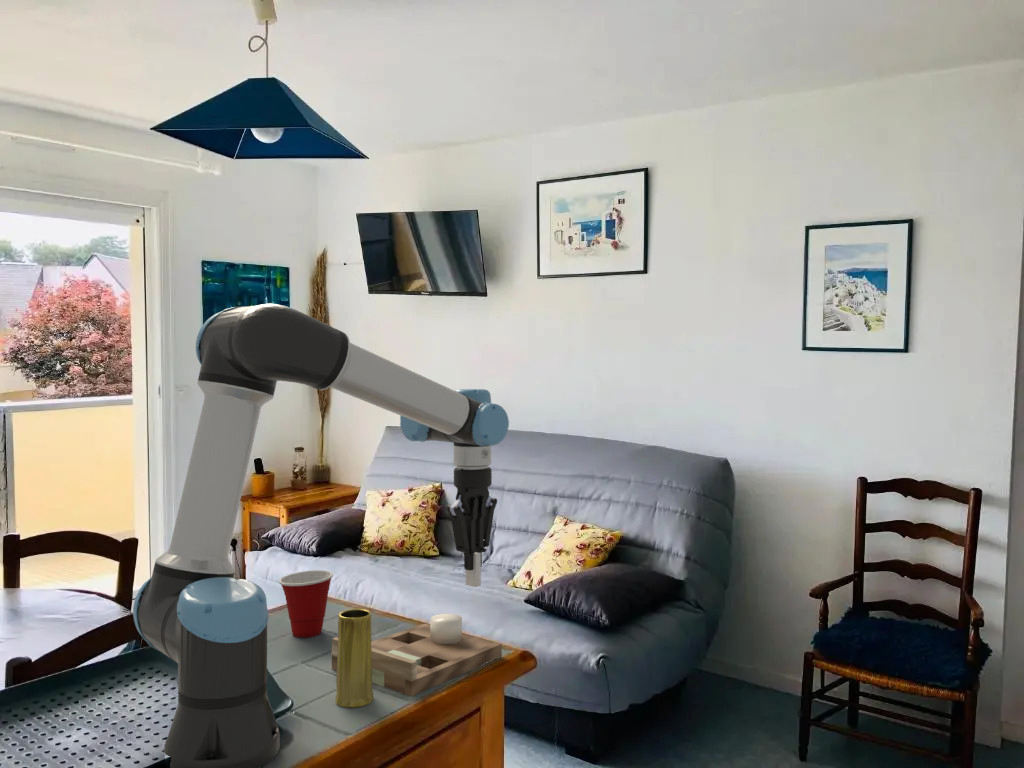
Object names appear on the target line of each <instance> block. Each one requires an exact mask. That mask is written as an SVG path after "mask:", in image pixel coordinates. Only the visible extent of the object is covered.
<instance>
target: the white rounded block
mask: <svg viewBox="0 0 1024 768" xmlns="http://www.w3.org/2000/svg"><path fill="white" fill-rule="evenodd" d="M429 623H430V624H429V625H430V640H431V641H432V642H434V643H437V644H454V643H458V642H460V641H461V640H462V634H463V618H462V616H461V615H458V614H456V613H455V614H454V613H440V614H439V613H438V614H436V615H432V616H431V617H430V622H429Z"/></svg>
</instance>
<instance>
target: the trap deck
mask: <svg viewBox="0 0 1024 768" xmlns="http://www.w3.org/2000/svg"><path fill="white" fill-rule="evenodd" d="M502 646H503V644H502V643H501V642H496V641H492V640H490V639H489V640H488V639H485V638H480V637H477V636H473V635H470V634H465V633H462V640H461V641H460V642H458V643H454V644H437V643H434V642H432V641H431V640H430V624H429V623H428V624H427V623H422V624H419V625H416V626H413V627H410V628H407V629H405V630H401V631H398V632H395V633H393V634H390V635H388V636H384V637H380V638H378V639H376V640H371V649H372V684H374V685H375V686H376V685H377V686H379V687H383V688H386V689H389V690H392V691H395V692H397V693H400V694H403V695H406V696H409V697H414V696H416V695H418V694H420V693H423V692H426V691H428V690H429V689H432V688H434V687H436V686H439V685H441V684H444V683H447V682H448V681H450V680H452V679H456V678H457V677H460V676H462V675H463V673H464V674H466V673H468V671H469V672H470V670H471V671H473V670H475V668H476V669H478V668H480V667H481V665H482V666H484V665H483V664H484V663H486V662H489V661H491V660H493V659H496V658H498V657H501V656H503V655H502V652H503V649H502V648H503V647H502ZM337 656H338V636H337V637H333V638H331V670H333V671H336V672H337ZM501 658H502V657H501ZM498 659H499V658H498ZM496 660H497V659H496ZM489 663H490V662H489ZM479 666H480V667H479ZM477 667H478V668H477Z"/></svg>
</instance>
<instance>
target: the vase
mask: <svg viewBox="0 0 1024 768" xmlns="http://www.w3.org/2000/svg"><path fill="white" fill-rule="evenodd" d="M337 619H338V621H337V628H338V629H337V630H338V631H337V633H338V635H337V637H338V656H337V671H336V680H335V681H336V686H335V688H336V696H335V699H334V701H335V703H336V705H337V706H339V707H342V708H347V709H356V708H362V707H365V706H368V705H370V704H371V703H372V702H373V701H374V698H375V697H374V691H373V683H372V649H371V642H372V612H371V610H368V609H365V608H351V609H346V610H343V611H341V612H339V613H338V618H337Z"/></svg>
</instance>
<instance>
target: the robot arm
mask: <svg viewBox="0 0 1024 768" xmlns="http://www.w3.org/2000/svg"><path fill="white" fill-rule="evenodd" d="M350 341H351V340H350V338H349V336H348V335H347V333H345V332H343V331H342V330H340V329H337V328H335V327H333V326H331V325H329V324H327V323H324V322H323V321H321V320H319V319H317V318H314V317H313V316H310V315H308V314H305V313H304V312H301V311H299V310H297V309H294V308H292V307H288V306H286V305H281V304H277V303H265V304H264V303H263V304H258V305H251V306H250V305H248V306H234V307H230V308H225V309H223V310H222V311H219V312H217V313H215V314H213V315H212V316H210V317H209V318H208V319H207V320H206V321H205V322H204V323H203V325H202V326H201V328H200V329H199V331H198V333H197V336H196V342H195V353H196V358H197V360H198V362H199V364H200V369H199V374H198V378H197V385H198V387H199V388H200V390H201V391H202V393H203V394H204V395H203V396H204V399H203V404H202V408H201V412H200V416H199V420H198V425H197V427H196V428H197V429H196V432H195V437H194V442H193V447H192V451H191V454H190V459H189V464H188V467H187V472H186V476H185V480H184V485H183V489H182V493H181V497H180V502H179V507H178V510H177V514H176V518H175V523H174V528H173V532H172V537H171V539H170V540H171V541H170V545H169V548H168V549H167V551H166V552H164V553H162V554H161V555H160V556H158V557H157V558H156V559H155V561H154V566H153V570H152V573H151V577H150V578H148V579H147V580H146V581H145V582H143V584H142V585H141V587H140V588H139V590H138V591H137V594H136V597H135V598H134V602H133V607H132V608H133V609H132V616H133V622H134V625H135V628H136V630H137V632H138V633H139V635H140V636H141V637H142V639H143V640H144V641H145V642H146V643H147V645H148V646H150V647H151V648H153V650H155V651H156V652H157V651H158V652H161V653H162V654H163V655H165V656H167V657H168V658H170V659H171V660H173V661H174V662H175V663H177V672H178V673H177V689H178V690H177V691H178V692H177V693H178V694H177V696H178V698H177V699H178V700H177V701H178V702H177V707H176V711H175V713H174V716H173V720H172V723H171V726H170V729H169V732H168V736H167V739H166V740H165V743H164V749H163V753H164V752H165V754H166V755H168V756H170V757H171V762H170V768H262V767H265V765H267V764H268V763H270V762H271V761H273V760H274V759H275V758H276V756H277V755H278V754H279V751H280V730H279V725H278V723H277V720H276V717H275V714H274V711H273V708H272V706H271V703H270V700H269V697H268V692H267V691H268V689H267V688H268V683H267V682H268V680H267V679H268V623H269V609H268V603H267V601H268V600H267V596H266V595H267V594H266V593H265V591H264V589H263V588H262V587H261V586H260V585H258V584H257V583H255V582H253V581H251V580H247V579H244V578H238V579H236V578H235V574H236V573H235V572H236V569H235V567H234V566H233V565H232V563H231V561H230V559H229V553H230V549H231V543H232V541H233V540H232V539H233V534H234V531H235V525H236V522H237V517H238V513H239V512H238V511H239V507H240V504H241V498H242V494H243V490H244V485H245V481H246V476H247V472H248V466H249V463H250V459H251V454H252V449H253V445H254V440H255V436H256V431H257V427H258V422H259V419H260V418H259V417H260V413H261V409H262V407H263V406H264V405H265V404H266V403H269V402H270V401H271V400H273V398H274V396H275V391H276V387H277V383H278V381H280V382H288V383H296V384H301V385H305V386H308V387H311V388H313V389H316V390H319V391H324V390H327V389H330V388H331V389H333V390H336V391H338V392H339V391H340V392H341V393H344V394H346V395H349V396H352V397H354V398H356V399H359V400H362V401H364V402H365V403H369V404H371V405H373V406H376V407H378V408H381V409H384V410H386V411H388V412H391V413H393V414H396V415H399V417H400V418H399V419H400V423H399V426H400V429H401V433H402V434H403V436H404V437H405V439H407V440H408V441H409V442H410V441H411V442H422V443H423V442H426V441H433V442H434V441H436V442H446V443H453V463H452V464H453V465H454V466H455V468H454V469H453V485H454V487H455V489H456V490H457V491H456V492H457V493H456V495H455V501H454V503H452V504H449V505H447V506H446V510H447V512H448V514H449V516H450V520H451V527H452V532H453V537H454V543H455V550H456V551H457V552H460V553H462V554H463V561H464V562H463V563H464V564H463V566H464V567H463V568H464V570H465V575H464V576H465V586H470V587H472V588H473V587H474V588H478V587H481V585H482V584H481V583H482V579H481V578H482V575H481V574H482V573H481V569H482V564H483V563H482V561H483V560H482V559H483V557H482V556H483V553H486V552H487V548H488V547H489V546H490V543H491V535H492V534H491V533H492V528H493V522H494V521H493V520H494V513H495V509H496V507H497V503H498V499H497V498H496V497H491V496H490V490H489V487H491V486H492V480H493V479H492V478H493V477H492V475H493V474H492V469H491V467H490V465H492V446H496V445H498V444H500V443H502V441H504V439H505V438H506V436H507V433H508V431H509V430H508V429H509V426H510V425H509V424H510V419H509V416H508V413H507V411H506V410H505V408H504V407H503V406H502V405H499V404H497V403H493V402H492V396H491V392H490V391H489V390H487V389H485V388H483V389H482V388H462V389H461V388H460V389H455V390H453V389H451V388H450V387H447V386H445V385H443V384H441V383H438V382H437V381H435V380H432V379H429V378H428V377H425V376H423V375H422V374H420V373H419V374H418V373H417V372H415V371H412V370H410V369H409V368H406V367H404V366H402V365H400V364H398V363H395V362H393V361H390V360H388V359H387V358H384V357H382V356H380V355H378V354H375V353H373V352H371V351H370V350H367V349H365V348H363V347H360V346H358V345H356V344H354V343H352V342H350Z"/></svg>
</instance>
